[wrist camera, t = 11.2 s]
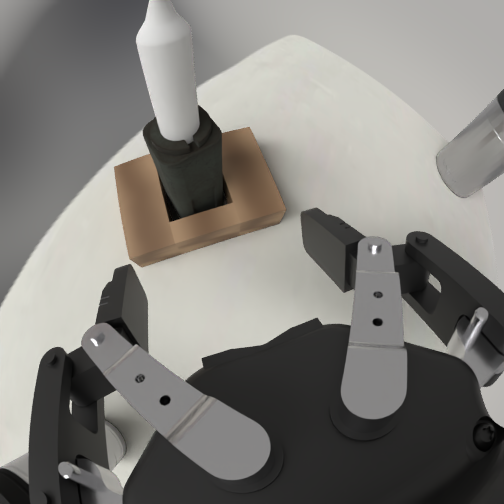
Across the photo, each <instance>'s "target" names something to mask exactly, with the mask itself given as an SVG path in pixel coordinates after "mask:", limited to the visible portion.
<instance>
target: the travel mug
mask: <svg viewBox="0 0 504 504" xmlns="http://www.w3.org/2000/svg"><path fill="white" fill-rule="evenodd" d="M105 432H106V444H107V453H108V462H109V469H110V471H112V470H113V469H114V467H115V466H116V465H117V464H118V463H119V461H120V460H121V459H122V458H123V456H124V455H125V452H126V445H125V441H124V439H123V437H122V435H121V433H120V432H119V431H118V429H117V428H116V427H114V426H113V425H112V424H111V423H109V422H108V421H106V420H105ZM28 457H29V452H28V453H26V454H24V455H23V456H21V457H19V458H17V459H15V460H13V461H11V462H9V463H7V464H5V465H4V466H2V467H0V504H31V503H30V495H29V473H28Z"/></svg>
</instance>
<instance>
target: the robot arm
mask: <svg viewBox="0 0 504 504" xmlns="http://www.w3.org/2000/svg"><path fill="white" fill-rule="evenodd" d="M437 167H438V170H439V172H440V174H441V177H442V178H443V180H444V182H445V183H446V185H447V186H448V187H449V188H450V189H451V190H452V191H453V192H454V193H455V194H456V195H458V196H460V197H468V196H470V195H471V194H473V193H474V192H476V191H477V190H479V189H481V188H482V187H483V186H485V185H487V184H488V183H490V182H491V181H493V180H494V179H496V178H497V177H499V176H500V175H501V174H503V173H504V89H503V90H502V91H501V92H500V93H499V94H498V96H497V97H496V98H495V99H494V100H493V101H492V102H491V103H490V104H489V105H488V106H487V107H486V108H485V109H484V110H483V111H482V112H481V113H480V114H479V115H478V116H477V117H476V118H475V119H474V120H473V121H472V122H471V123H470V124H469V125H468V126H467V127H466V128H465V129H464V130H463V131H462V132H460V133H459V134H458V135H457V136H456V137H455V138H454V139H453V140H452V141H451V142H450V143H449V144H448V145H447V146H445V147H444V148H443V149H442V150H441V151H440V152H439V153H438V155H437ZM301 226H302V237H303V244H304V248H305V250H306V252H307V253H308V254H309V255H310V257H311V258H312V259H313V260H314V261H315V262H316V263H317V264H318V265H319V266H320V267H321V268H322V269H323V271H324V272H325V273H326V274H327V275H328V276H329V277H330V278H331V279H332V280H333V281H334V282H335V284H336V285H337V286H338V287H339V288H340V289H341V290H342V291H343V292H344V293H345V292H347V291H350V290H352V289H354V290H355V294H354V304H353V313H352V322H351V326H350V325H344V324H327V325H322V324H321V322H320V321H319V319H318V318H315V319H313V320H310V321H308V322H305V323H303V324H300V325H298V326H295V327H292V328H290V329H288V330H287V331H285V332H284V333H282V334H281V335H279V336H277V337H276V338H274V339H273V340H271V341H269V342H268V343H266V344H264V345H260V346H253V347H245V348H237V349H230V350H227V351H224V352H220V353H217V354H214V355H211V356H207V357H204V358H202V363H203V368H201V369H199V370H198V371H196V372H195V373H194V374H192V375H191V376H190V377H189V378H188V379H187V380H186V381H184V380H182V379H181V378H180V377H178V376H177V375H175V374H174V373H173V372H171V371H170V370H169V369H167V368H166V367H165V366H163V365H162V364H161V363H159V362H158V361H157V360H156V359H154V358H153V357H152V356H151V355H149V353H148V301H147V297H146V294H145V291H144V289H143V287H142V285H141V283H140V281H139V279H138V277H137V275H136V273H135V271H134V269H133V267H132V265H131V264H128V265H125V266H122V267H119V268H116V269H115V270H114V275H113V279H112V281H111V282H108V283H107V285H106V286H105V288H104V289H103V291H102V295H101V300H100V304H99V305H100V306H99V309H98V313H97V318H96V323H95V325H94V326H92V327H91V328H89V329H88V330H87V331H86V332H85V334H84V335H83V337H82V341H81V345H82V346H81V347H80V348H78V349H76V350H74V351H72V352H71V353H69V354H67V353H66V352H65V351H64V349H63V348H61V347H55V348H52V349H50V350H49V351H48V352H46V354H45V355H44V356H43V357H42V359H41V361H40V365H39V370H38V375H37V380H36V386H35V392H34V398H33V405H32V413H31V423H30V435H29V457H28V473H29V495H30V503H31V504H504V428H503V427H501V426H500V425H498V424H497V423H495V422H494V421H493V420H492V419H491V417H490V416H489V414H488V412H487V410H486V407H485V405H484V402H483V399H482V395H481V391H480V388H481V387H482V386H483V387H488V386H490V385H492V384H493V383H494V382H495V381H496V380H497V379H498V377H499V376H500V375H501V374H502V372H503V371H504V293H503V292H502V291H501V290H500V289H499V288H498V287H497V286H495V285H494V284H493V283H492V282H491V281H490V280H489V279H487V278H486V277H485V276H484V275H483V274H481V273H480V272H479V271H478V270H477V269H475V268H474V267H473V266H472V265H470V264H469V263H468V262H467V261H465V260H464V259H463V258H462V257H460V256H459V255H458V254H456V253H455V252H454V251H452V250H451V249H450V248H448V247H447V246H446V245H444V244H443V243H442V242H440V241H439V240H437V239H436V238H435V237H433V236H432V235H430V234H428V233H425V232H420V231H415V232H411V233H409V234H408V235H407V237H406V244H401V245H394V246H391V244H390V242H388V241H387V240H385V239H383V238H380V237H365V236H364V235H362V234H361V233H359V232H358V231H357V230H355V229H354V228H353V227H351V226H350V225H348V224H347V223H345V222H344V221H343V220H341V219H340V218H339V217H335V216H332V215H327V214H325V213H324V212H322V211H321V210H320V209H318V208H313V209H310V210H306V211H303V212H301ZM430 273H431V274H432V275H433V276H434V277H435V278H436V279H437V280H438V281H439V282H440V284H441V293H440V292H439V291H438V290H437V289H436V288H434V287H433V286H432V285H431V284H430V283H429V282H428V279H429V275H430ZM401 296H402V298H403V299H404V300H405V301H406V302H407V303H408V304H409V305H410V306H411V307H412V308H413V309H414V310H415V311H416V313H417V314H418V315H419V316H420V317H421V318H422V319H423V320H424V321H425V322H426V324H427V325H428V326H429V327H430V328H431V329H432V330H433V331H434V333H435V334H436V335H437V336H438V337H439V338H440V340H441V341H442V342H443V343H444V344H445V345H446V347H447V352H448V354H446V353H443V352H439V351H435V350H432V349H428V348H425V347H421V346H417V345H414V344H411V343H407V342H404V332H403V313H402V299H401ZM116 390H117V391H118V392H119V393H120V394H121V395H122V396H123V397H124V398H125V399H126V400H127V402H128V403H129V404H130V405H131V406H132V407H133V408H134V409H135V410H136V411H137V412H138V413H139V414H140V415H141V416H142V417H143V418H144V419H145V420H146V421H147V422H149V423H150V424H151V425H152V426H153V427H154V428H155V429H156V431H155V432H154V434H153V436H152V438H151V439H150V441H149V443H148V445H147V447H146V448H145V450H144V452H143V454H142V455H141V457H140V459H139V461H138V462H137V464H136V466H135V468H134V470H133V471H132V473H131V475H130V477H129V478H128V480H127V482H126V484H125V486H124V489H123V487H122V486H121V483H120V480H119V478H118V477H117V476H116V475H115V474H114V473H113V472H112V471H110V469H109V462H108V453H107V444H106V432H105V416H104V396H106V395H108V394H110V393H112V392H114V391H116ZM70 400H71V401H72V415H71V413H70V409H69V404H70Z"/></svg>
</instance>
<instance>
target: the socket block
mask: <svg viewBox="0 0 504 504" xmlns="http://www.w3.org/2000/svg"><path fill="white" fill-rule="evenodd" d="M114 170H115V179H116V186H117V193H118V200H119V207H120V213H121V219H122V224H123V230H124V235H125V240H126V245H127V250H128V254H129V259H130V260H132V261H133V262H135V263H136V264H137V265H139V266H140V267H144V266H147V265H150V264H153V263H156V262H159V261H162V260H165V259H168V258H171V257H175V256H178V255H181V254H184V253H187V252H190V251H193V250H196V249H199V248H202V247H205V246H209V245H212V244H215V243H218V242H221V241H224V240H228V239H231V238H234V237H237V236H240V235H244V234H247V233H250V232H253V231H256V230H260V229H263V228H266V227H269V226H273V225H276V224H279V223H280V221H281V219H282V217H283V215H284V213H285V211H286V207H285V205H284V203H283V200H282V198H281V196H280V193H279V191H278V189H277V186H276V184H275V182H274V179H273V177H272V175H271V173H270V170H269V168H268V166H267V164H266V161H265V159H264V157H263V155H262V153H261V150H260V148H259V146H258V144H257V142H256V139H255V137H254V135H253V133H252V131H251V129H250V127H247V128H242V129H238V130H233V131H229V132H225V133H222V176H223V192H224V195H225V197H226V200H227V203H228V204H227V205H223V206H220V207H217V208H213V209H210V210H207V211H203V212H200V213H197V214H194V215H191V216H188V217H184V218H181V219H178V220H175V221H173V220H172V216H171V212H170V209H169V205H168V201H167V197H166V193H165V188H164V186H163V183H162V181H161V179H160V176H159V174H158V171H157V169H156V167H155V164H154V162H153V159H152V157H151V154H148V155H145V156H142V157H139V158H137V159H134V160H131V161H128V162H126V163H123V164H120V165H118V166H115V167H114Z"/></svg>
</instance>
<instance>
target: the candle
mask: <svg viewBox="0 0 504 504" xmlns="http://www.w3.org/2000/svg"><path fill="white" fill-rule="evenodd" d="M136 43H137V47H138V52H139V56H140V60H141V64H142V68H143V72H144V76H145V79H146V83H147V87H148V91H149V94H150V98H151V101H152V105H153V108H154V112H155V116H156V117H155V118H154V119H153V120H152V121H150V122H149V123H148V124H147V125H146V126H145V127H144V129H143V136H144V139H145V142H146V144H147V147H148V149H149V152H150V154H151V157H152V159H153V162H154V164H155V167H156V169H157V171H158V174H159V176H160V179H161V181H162V183H163V186H164V188H165V190H166V193H167V195H168V197H169V200H170V202H171V204H172V206H173V208H174V209H175V211H176V213H177V214H178V216H179V217H180V219H181V218H184V217H188V216H191V215H194V214H197V213H200V212H203V211H207V210H210V209H213V208H217V207H220V206H223V176H222V132H221V130H220V128H219V127H218V126H217V125H216V124H215V122H214V121H213V120H212V119H211V118H210V116H209V115H208V113H207V112H206V111H205V110H204V109H203V108H202V107H200V106H199V105H198V102H197V92H196V81H195V71H194V57H193V44H192V30H191V26H190V25H189V24H188V23H187V22H186V21H185V20H184V19H183V18H182V17H181V16H180V15H178V14H177V12H176V10H175V8H174V6H173V4H172V3H171V1H170V0H150V1H149V5H148V10H147V14H146V20H145V22H144V23H143V25H142V27H141V29H140V30H139V33H138V35H137V38H136Z"/></svg>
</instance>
